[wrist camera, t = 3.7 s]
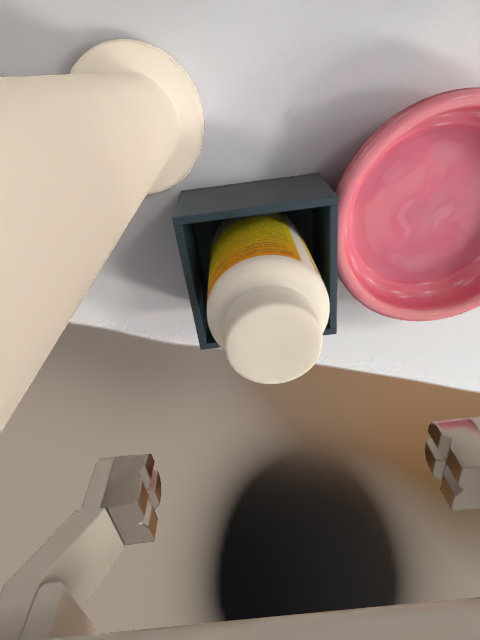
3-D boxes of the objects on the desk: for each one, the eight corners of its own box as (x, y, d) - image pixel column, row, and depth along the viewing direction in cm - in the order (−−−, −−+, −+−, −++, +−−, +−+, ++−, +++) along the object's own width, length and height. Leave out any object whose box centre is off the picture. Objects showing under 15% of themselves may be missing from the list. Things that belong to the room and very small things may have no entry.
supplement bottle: (191, 249, 24) (174, 350, 16) (256, 181, 22) (277, 254, 14) (255, 303, 26) (270, 418, 18) (320, 246, 24) (372, 344, 16)
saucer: (342, 77, 20) (360, 79, 17) (576, 93, 21) (629, 97, 18) (305, 294, 27) (314, 320, 24) (483, 300, 27) (512, 326, 25)
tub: (181, 190, 23) (171, 217, 19) (317, 172, 22) (338, 195, 18) (204, 307, 27) (200, 350, 23) (319, 293, 26) (336, 334, 22)
